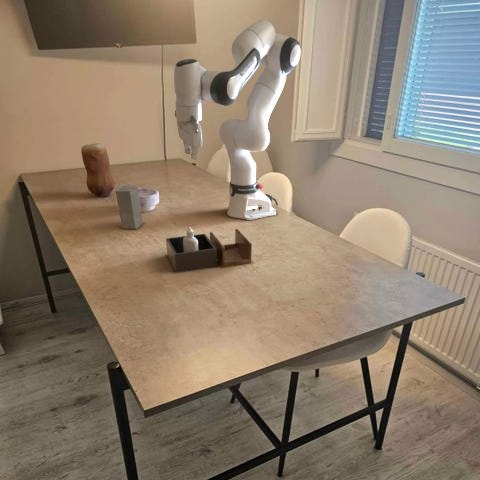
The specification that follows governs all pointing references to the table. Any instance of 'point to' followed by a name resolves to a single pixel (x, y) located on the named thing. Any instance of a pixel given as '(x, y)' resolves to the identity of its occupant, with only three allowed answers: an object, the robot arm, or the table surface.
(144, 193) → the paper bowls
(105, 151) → the butternut squash
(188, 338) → the table surface
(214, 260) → the dark grey open box
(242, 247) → the wooden shelf
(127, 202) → the cosmetic box
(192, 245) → the eye dropper bottle
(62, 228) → the table surface
